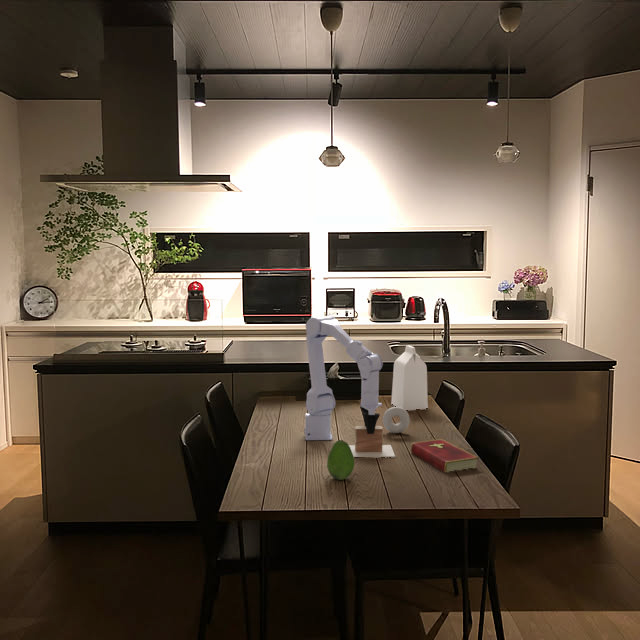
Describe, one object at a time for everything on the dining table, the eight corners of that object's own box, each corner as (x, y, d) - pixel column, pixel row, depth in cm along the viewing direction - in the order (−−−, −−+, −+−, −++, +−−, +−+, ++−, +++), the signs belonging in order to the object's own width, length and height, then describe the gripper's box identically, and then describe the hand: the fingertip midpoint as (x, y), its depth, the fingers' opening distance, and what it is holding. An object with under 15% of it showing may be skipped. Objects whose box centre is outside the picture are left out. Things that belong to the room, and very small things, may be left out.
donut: (382, 434, 248) (383, 407, 247) (381, 431, 251) (382, 405, 250) (410, 434, 248) (410, 407, 247) (408, 431, 252) (409, 405, 250)
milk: (391, 404, 293) (392, 344, 289) (415, 402, 296) (416, 343, 293) (402, 410, 281) (403, 349, 278) (427, 408, 285) (429, 348, 281)
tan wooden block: (382, 452, 226) (382, 428, 225) (355, 452, 226) (355, 429, 225) (381, 448, 229) (381, 425, 228) (354, 449, 229) (355, 426, 228)
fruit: (338, 472, 208) (338, 434, 207) (359, 478, 203) (359, 439, 202) (321, 479, 202) (322, 440, 200) (343, 485, 197) (343, 445, 196)
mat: (346, 457, 221) (346, 456, 221) (344, 446, 233) (344, 445, 233) (395, 457, 222) (395, 456, 222) (390, 446, 234) (390, 444, 234)
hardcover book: (445, 474, 208) (445, 461, 207) (410, 454, 227) (411, 442, 226) (477, 469, 212) (478, 456, 212) (441, 450, 231) (441, 438, 231)
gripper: (384, 395, 218) (383, 436, 220) (379, 385, 232) (378, 424, 234) (362, 395, 218) (362, 436, 219) (359, 385, 232) (358, 424, 234)
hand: (369, 430), depth 227 cm, fingers open, 7 cm apart
